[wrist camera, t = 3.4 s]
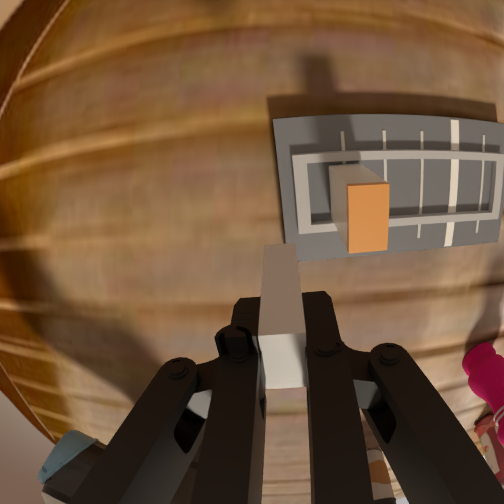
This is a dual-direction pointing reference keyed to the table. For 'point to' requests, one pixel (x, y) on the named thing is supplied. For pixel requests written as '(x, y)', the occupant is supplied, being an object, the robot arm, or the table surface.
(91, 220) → the table surface
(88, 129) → the table surface
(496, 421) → the pepper mill
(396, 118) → the panel
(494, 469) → the liquor
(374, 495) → the coffee cup
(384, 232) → the fader
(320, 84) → the table surface
